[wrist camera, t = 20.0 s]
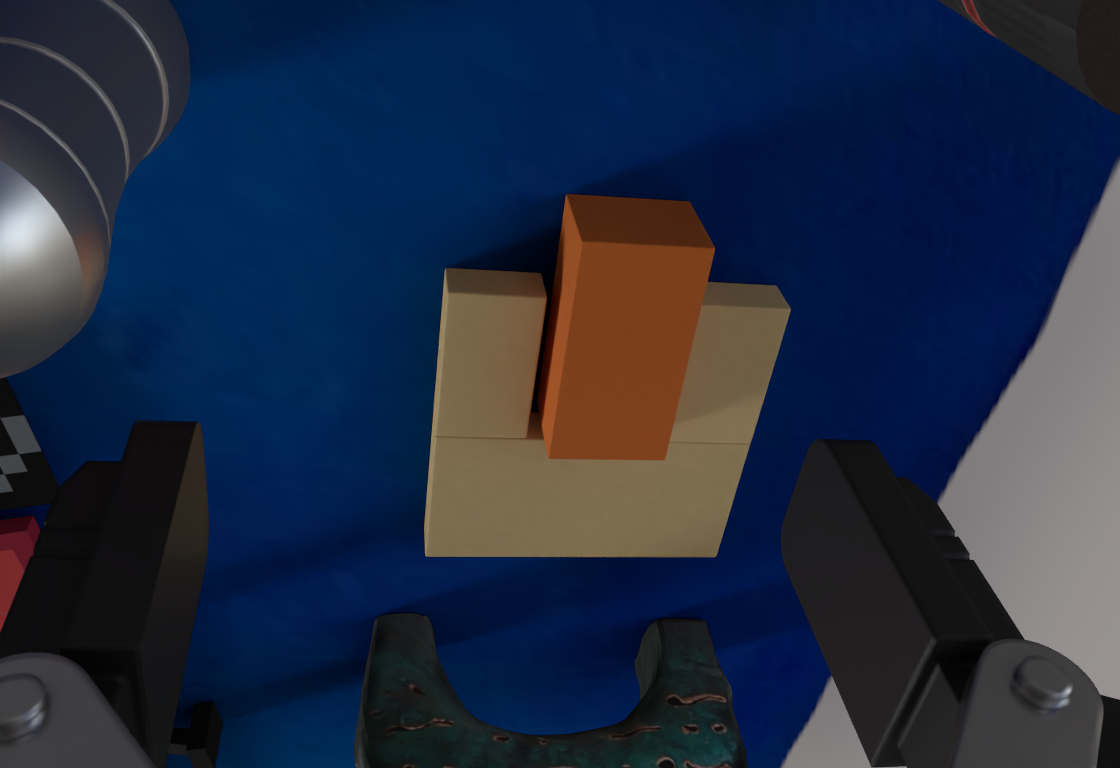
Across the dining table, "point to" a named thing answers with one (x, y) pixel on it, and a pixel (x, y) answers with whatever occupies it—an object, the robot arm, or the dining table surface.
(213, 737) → the red board with handle
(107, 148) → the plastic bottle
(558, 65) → the dining table surface
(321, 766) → the dining table surface
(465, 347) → the notch pad
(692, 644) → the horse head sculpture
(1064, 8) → the deodorant
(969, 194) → the dining table surface
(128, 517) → the robot arm
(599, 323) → the pad
